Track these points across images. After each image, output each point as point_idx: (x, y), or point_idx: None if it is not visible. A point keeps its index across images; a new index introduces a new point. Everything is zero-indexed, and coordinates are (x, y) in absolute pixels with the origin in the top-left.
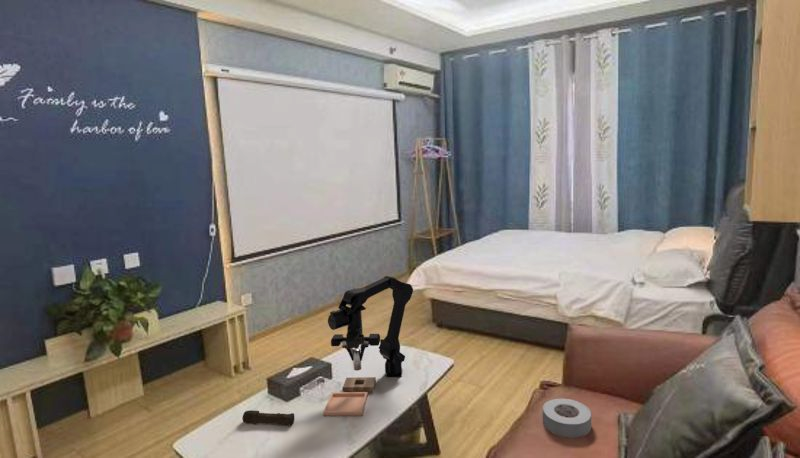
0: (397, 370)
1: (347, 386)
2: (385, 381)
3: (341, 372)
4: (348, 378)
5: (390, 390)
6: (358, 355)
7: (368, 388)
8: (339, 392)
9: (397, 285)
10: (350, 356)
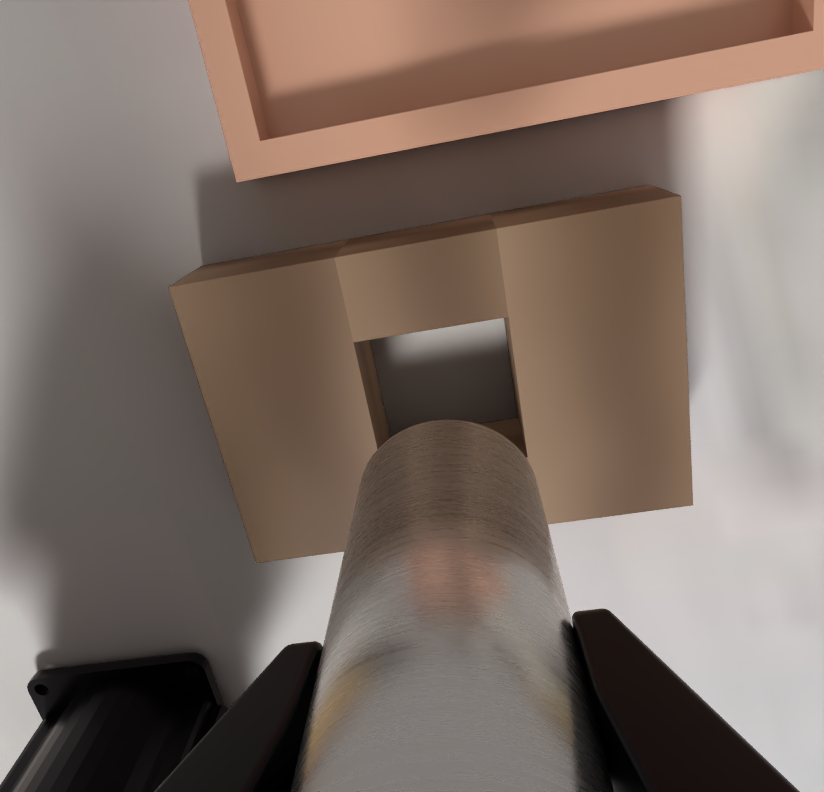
0: (48, 740)
1: (601, 239)
2: (173, 561)
3: (799, 692)
4: (651, 484)
5: (9, 366)
6: (316, 785)
7: (247, 268)
8: (705, 88)
9: None
10: (711, 720)
